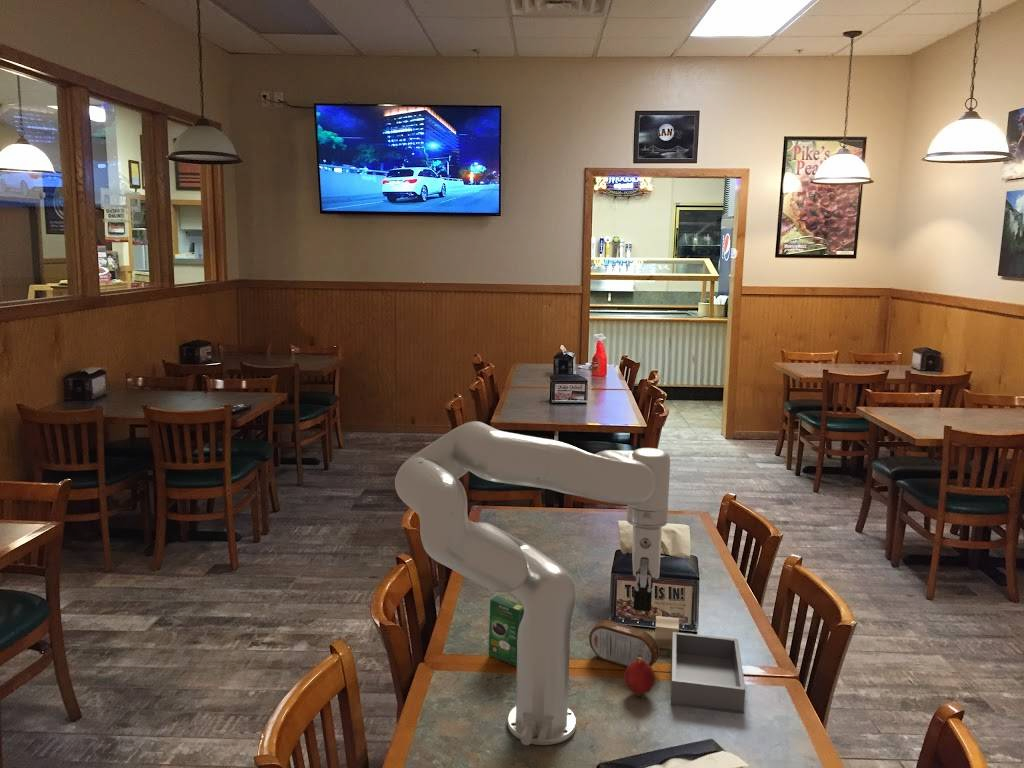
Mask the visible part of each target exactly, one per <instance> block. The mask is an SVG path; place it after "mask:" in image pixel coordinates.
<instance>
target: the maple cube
mask: <svg viewBox="0 0 1024 768" xmlns="http://www.w3.org/2000/svg"><path fill="white" fill-rule="evenodd" d="M654 629H655V633H654V639H655V641H656V643H657V645H658V648H661V649H669V650H672V635H673V632H678V633H680V632H679V631H680V617H671V616H662V615H661V616H660V615H656V616H655V628H654Z"/></svg>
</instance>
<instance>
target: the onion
mask: <svg viewBox="0 0 1024 768" xmlns="http://www.w3.org/2000/svg"><path fill="white" fill-rule="evenodd" d="M623 676H624V683H625V685H626V687H627V688H628V690H630V691H631V692H633V693H634V694H635V695H636V696H642V695H645V694H646V693H647V694H648V692H650V691H651V690H652V688H653V687H654V684H655V681H656V680H655V679H656V677H655V673H654V670H653V668H652V666H650V665H649V664H648V663H647V662H645V661H644V660H643V659H642V658H640V657H639V658H636V661H633V662H632V663H631V664H629V666H628V667H626V668H625V671H624V675H623Z"/></svg>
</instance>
